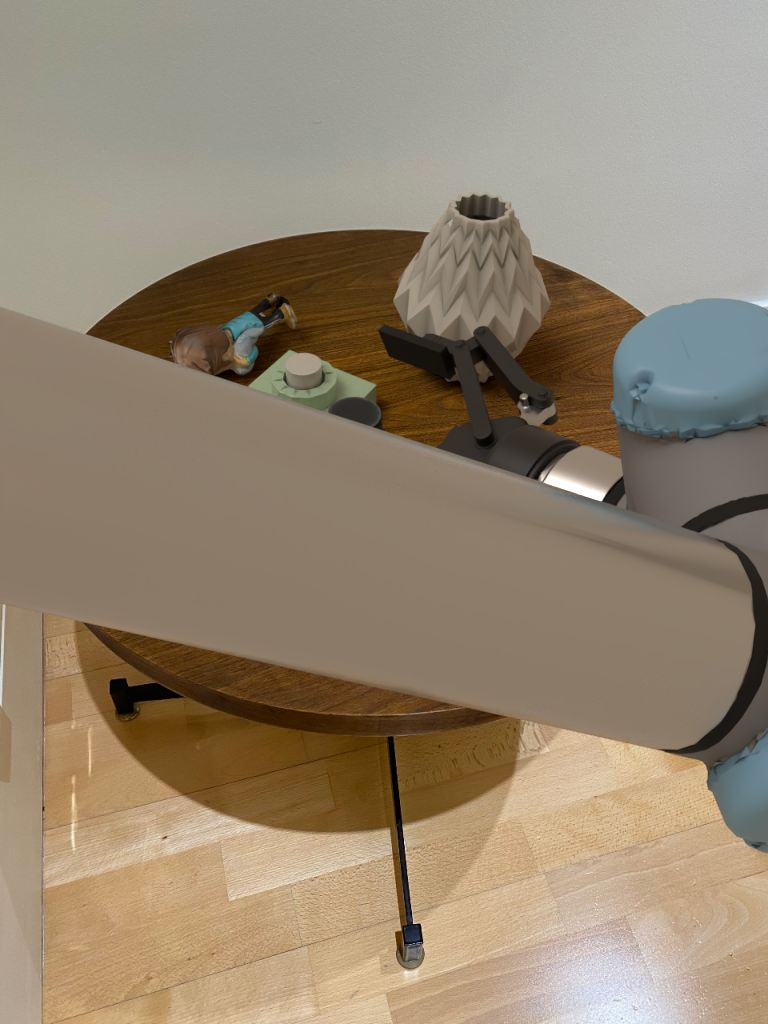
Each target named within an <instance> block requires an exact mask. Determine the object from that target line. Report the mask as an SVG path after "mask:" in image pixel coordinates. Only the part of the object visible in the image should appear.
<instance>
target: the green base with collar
mask: <svg viewBox="0 0 768 1024" xmlns="http://www.w3.org/2000/svg"><path fill="white" fill-rule="evenodd" d="M295 354H298V352H296V351H293V350H291V349H288V350H287V351H286V352H285V353H284V354H283V355H281V356H280V357H279V358H278V359H277V360H276V361H275V362H274V363H272V364H271V365H270V366H269V367H268V368H267V369H266V370H265V371H264V372H262V373H261V374H260V375H259V376H258V377H257V378H256V379H254V380H253V381H252V382H251V383H250V384H248V385H247V387H250V388H253V389H256V390H259V391H262V392H265V393H269V394H272V395H275V396H278V397H281V398H284V399H287V400H290V401H293V402H296V403H299V404H302V405H306V406H309V407H312V408H315V409H318V410H321V411H324V412H327V413H328V410H329V408H330V406H331V405H332V404H333V403H335V402H336V401H338V400H340V399H343V398H347V397H362V398H367V399H369V400H371V401H373V402H375V403H376V404H377V397H378V396H377V395H378V394H377V389H378V385H377V383H374V382H372V381H368V380H366V379H363V378H361V377H358V376H356V375H353V374H351V373H348V372H346V371H343V370H341V369H339V368H336V367H333V366H332V364H331V363H330V362H328V361H327V360H323V359H321V358H320V360H321V362H322V383H321V385H320V386H319V387H316V388H313V389H310V390H296V389H293V388H291V387H289V386H288V384H287V381H286V369H285V363H286V360H287V359H288V358H289V357H291V356H292V355H295Z"/></svg>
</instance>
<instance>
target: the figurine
mask: <svg viewBox="0 0 768 1024" xmlns="http://www.w3.org/2000/svg"><path fill="white" fill-rule="evenodd" d="M266 311H268V312H269V313H271V314H270V315H265V314H266V313H265V312H266ZM297 322H298V319H297V316H296V313H295V311H294V309H293V308H292V306H291V304H290V301H289V299H287V298H286V297H284V296H282V295H281V294H280V293H278V292H270V293H268V294H267V296H266V298H264V299H262V301H260V302H259V303H258V304H257V305H255V306H254V307H253V308H251V309H250V310H248V311H244V312H243V313H242V314H240V315H238V316H236V317H234V318H233V319H230V320H229V321H228V322H226V323H224V324H221V325H219V326H217V325H214V324H209V323H208V324H200V325H198V326H188V327H185V328H179V329H178V330H177V331H176V332H175V333H174V335H173V336H174V338H173V339H171V340H169V341H168V342H167V344H168V345H169V346H170V352H169V354H170V355H167V358H169V359H170V360H172V362H173V363H176V364H179V365H182V366H185V367H188V368H191V369H194V370H198V371H201V372H204V373H207V374H210V375H213V376H216V375H220V374H221V373H223V372H226V371H227V370H232V372H234V373H235V374H237V375H239V376H246V375H247V374H248V373H250V372H251V371H252V370H253V369H254V366H255V362H256V360H257V359H258V356H259V350H258V349H259V348H258V347H257V345H256V343H257V341H258V339H259V338H260V337H263V336H264V335H265V333H266V332H268V331H269V330H271V329H272V328H273V327H274V326H276V324H279V323H281V324H285V325H287V327H288V328H289V329H291V330H295V329H296V326H297Z"/></svg>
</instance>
